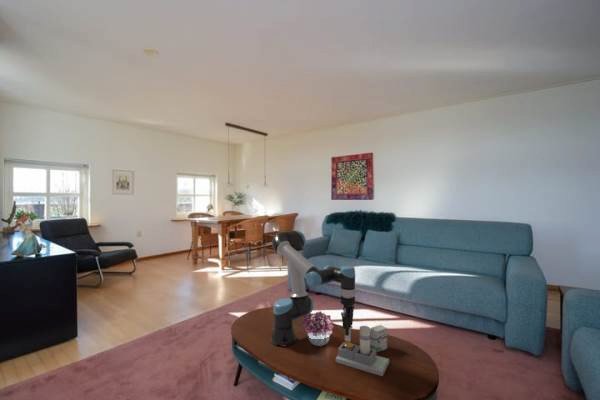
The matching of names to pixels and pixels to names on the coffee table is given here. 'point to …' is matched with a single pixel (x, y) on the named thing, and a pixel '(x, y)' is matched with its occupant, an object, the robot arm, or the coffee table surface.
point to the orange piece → (348, 346)
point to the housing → (362, 360)
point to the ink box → (379, 338)
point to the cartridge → (365, 340)
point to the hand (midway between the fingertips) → (347, 340)
